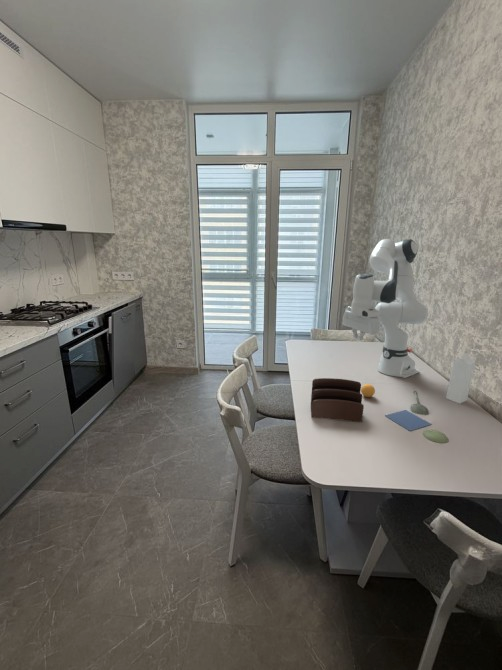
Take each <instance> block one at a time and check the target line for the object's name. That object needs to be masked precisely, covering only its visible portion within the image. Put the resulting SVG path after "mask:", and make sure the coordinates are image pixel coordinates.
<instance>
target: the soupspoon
mask: <svg viewBox="0 0 502 670" xmlns="http://www.w3.org/2000/svg"><path fill="white" fill-rule="evenodd" d="M412 393H413V394H414V395H415V401H416V403H413V404H411V405H410V410H411V413H413V414H415V415H416V414H417V415H421V416H427V415H429V410H428V407H426V406H425V405H424V404H421V403H420V401H419V397H418V391H417V390H413V392H412Z"/></svg>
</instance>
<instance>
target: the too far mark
mask: <svg viewBox="0 0 502 670" xmlns="http://www.w3.org/2000/svg"><path fill="white" fill-rule="evenodd" d="M422 435H423V436H424V438H426V439H427V440H429V441H431V442H434V443H439V444H445V443H448V442H449V437H448V436H447V435H446V434H444V433H443V432H441V431H439V430H436V429H435V430H434V429H426V430H423V432H422Z"/></svg>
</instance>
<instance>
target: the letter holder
mask: <svg viewBox="0 0 502 670" xmlns="http://www.w3.org/2000/svg"><path fill="white" fill-rule="evenodd" d="M361 388H362V384H361V382H359V381H357V380H353V379H352V380H351V379H345V378H330V377H328V378H327V377H326V378H322V377H321V378H320V377H319V378H313V380H312V383H311V395H310V416H311V418H314V419H324V420H325V419H327V420H334V421H335V420H336V421H346V422H355V423H356V422H357V423H362V422H363V417H364V409H365V408H364V404H363V403H362V402H363V394H362V392H361Z"/></svg>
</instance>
